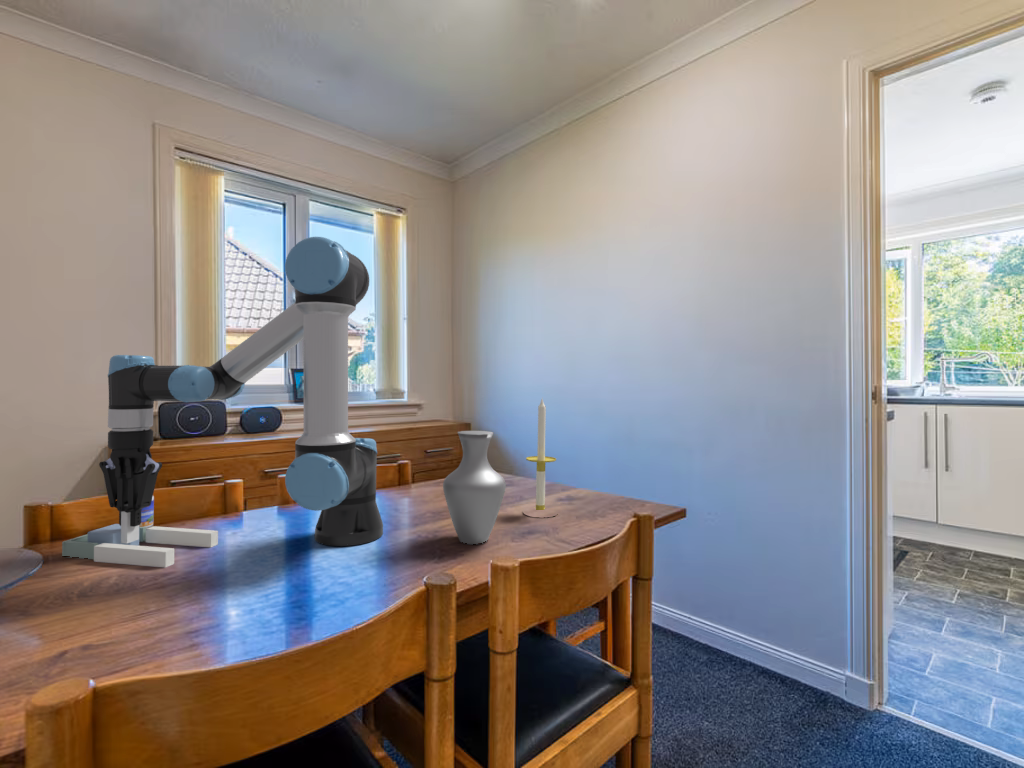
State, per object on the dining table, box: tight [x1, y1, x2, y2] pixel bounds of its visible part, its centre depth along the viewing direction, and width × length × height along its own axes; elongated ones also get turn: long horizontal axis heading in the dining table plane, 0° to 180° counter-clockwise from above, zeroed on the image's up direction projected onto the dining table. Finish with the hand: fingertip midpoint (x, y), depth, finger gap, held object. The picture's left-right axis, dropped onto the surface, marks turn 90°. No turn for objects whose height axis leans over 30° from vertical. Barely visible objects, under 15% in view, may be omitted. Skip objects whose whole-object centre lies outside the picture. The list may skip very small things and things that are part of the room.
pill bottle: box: [139, 495, 155, 529], centre depth 119 cm, size 5×5×10 cm
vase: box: [442, 430, 507, 545], centre depth 113 cm, size 14×14×25 cm
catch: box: [61, 527, 147, 560], centre depth 104 cm, size 8×12×3 cm, turn 171°
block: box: [87, 523, 140, 546], centre depth 103 cm, size 6×6×4 cm
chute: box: [93, 525, 219, 569], centre depth 102 cm, size 16×14×3 cm
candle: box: [525, 398, 557, 510], centre depth 137 cm, size 10×10×32 cm
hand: (129, 541), depth 103 cm, fingers closed
